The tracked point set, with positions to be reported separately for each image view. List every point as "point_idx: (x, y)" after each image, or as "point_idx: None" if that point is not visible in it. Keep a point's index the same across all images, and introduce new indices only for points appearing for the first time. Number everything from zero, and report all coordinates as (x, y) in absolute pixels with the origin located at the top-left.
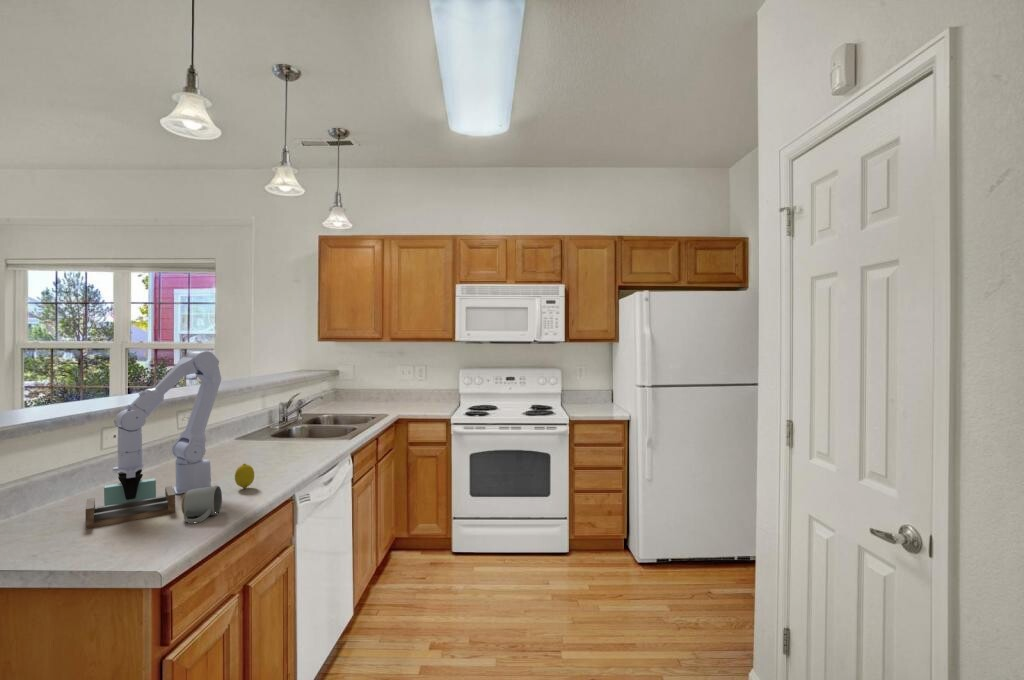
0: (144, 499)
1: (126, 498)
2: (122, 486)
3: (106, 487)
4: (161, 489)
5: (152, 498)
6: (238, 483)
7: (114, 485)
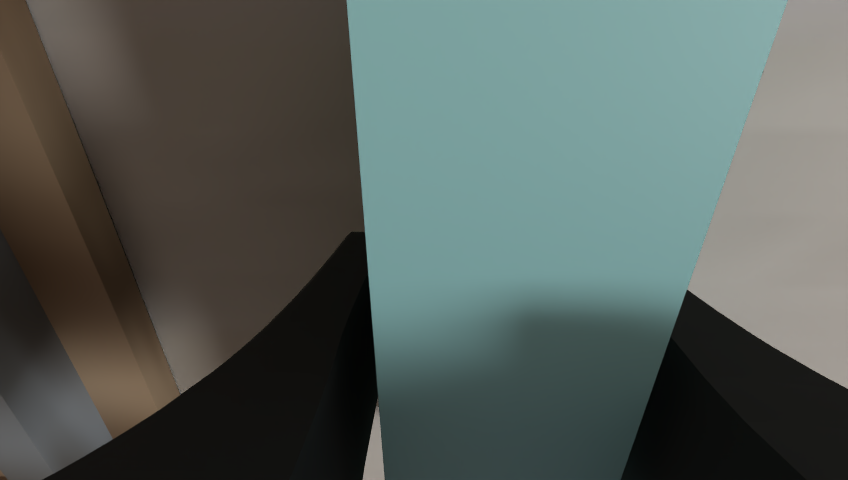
0: (9, 419)
1: (344, 243)
2: (381, 345)
3: (375, 2)
4: None
5: (32, 470)
6: None
7: (487, 226)
